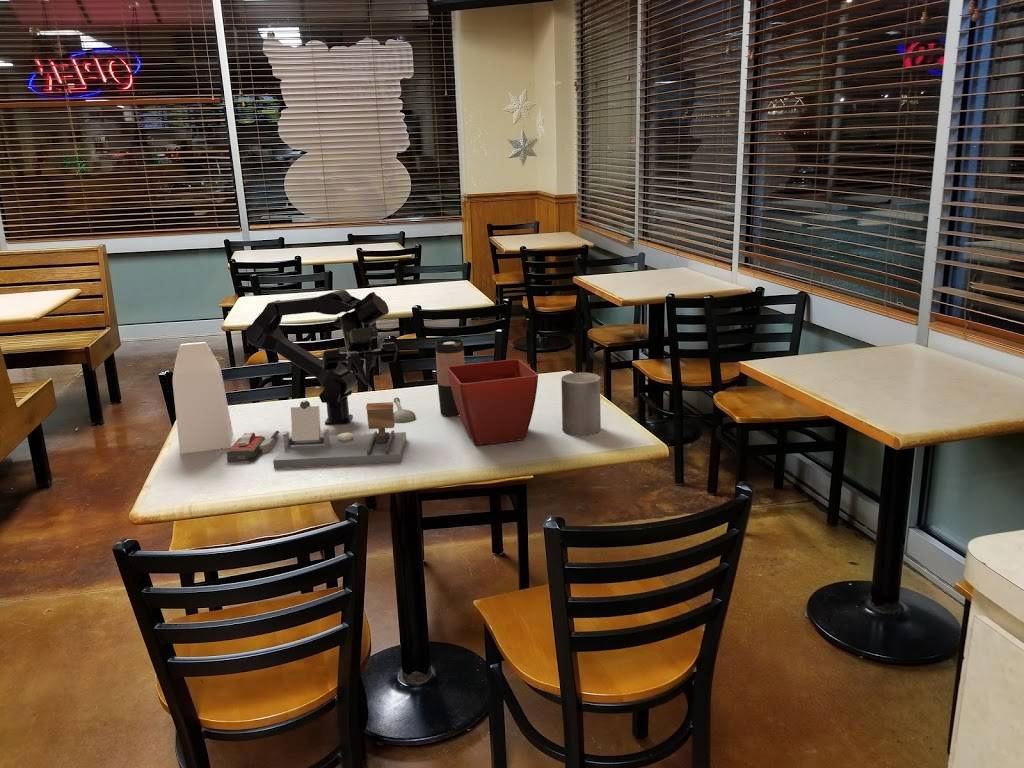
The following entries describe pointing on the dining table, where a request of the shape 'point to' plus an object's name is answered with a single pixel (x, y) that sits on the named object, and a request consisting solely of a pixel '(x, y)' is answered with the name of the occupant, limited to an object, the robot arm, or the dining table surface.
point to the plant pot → (494, 399)
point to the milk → (200, 400)
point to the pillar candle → (581, 404)
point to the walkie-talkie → (250, 447)
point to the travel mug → (447, 355)
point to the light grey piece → (305, 425)
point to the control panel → (341, 450)
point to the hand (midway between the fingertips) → (367, 384)
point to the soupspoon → (403, 414)
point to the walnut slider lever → (380, 419)
